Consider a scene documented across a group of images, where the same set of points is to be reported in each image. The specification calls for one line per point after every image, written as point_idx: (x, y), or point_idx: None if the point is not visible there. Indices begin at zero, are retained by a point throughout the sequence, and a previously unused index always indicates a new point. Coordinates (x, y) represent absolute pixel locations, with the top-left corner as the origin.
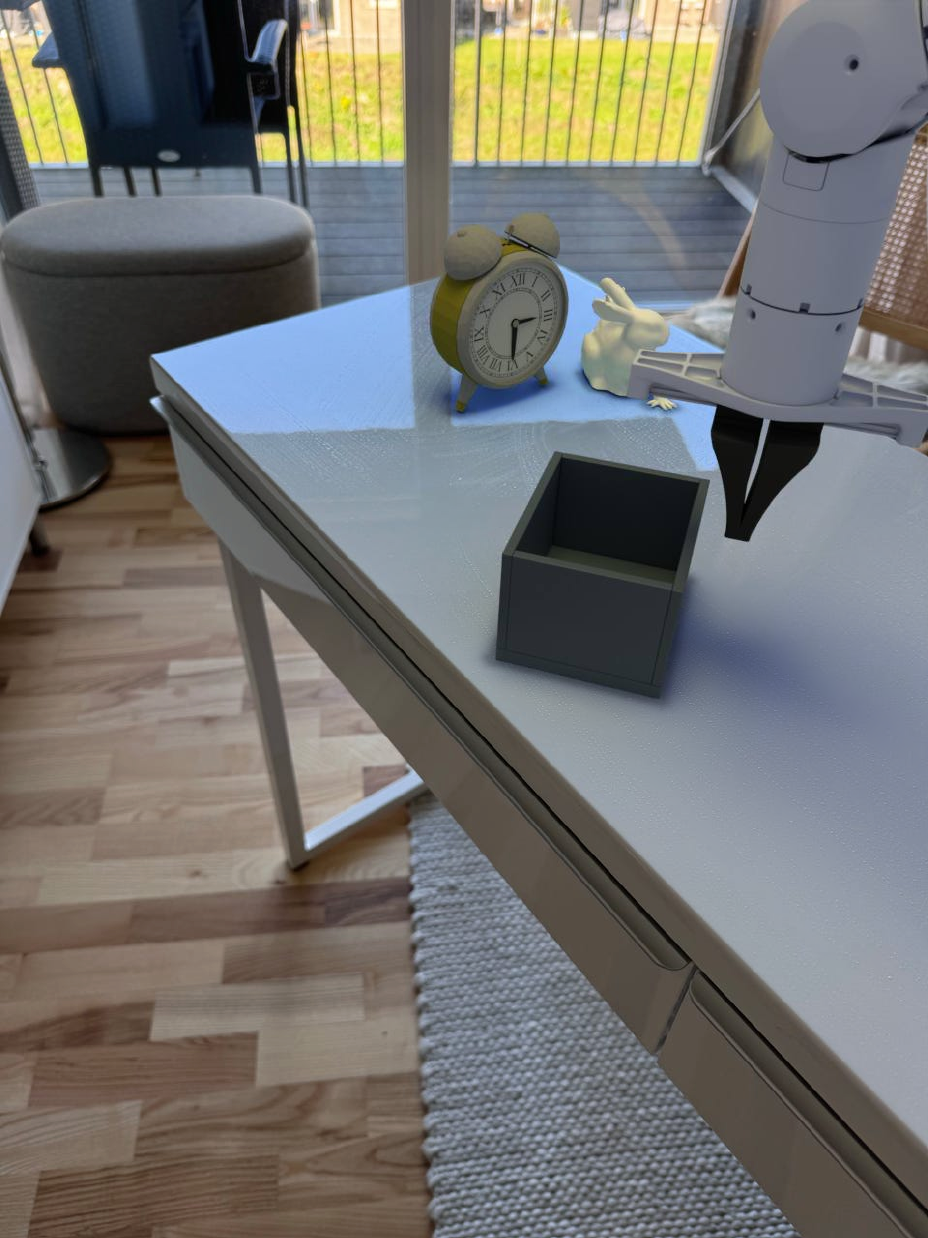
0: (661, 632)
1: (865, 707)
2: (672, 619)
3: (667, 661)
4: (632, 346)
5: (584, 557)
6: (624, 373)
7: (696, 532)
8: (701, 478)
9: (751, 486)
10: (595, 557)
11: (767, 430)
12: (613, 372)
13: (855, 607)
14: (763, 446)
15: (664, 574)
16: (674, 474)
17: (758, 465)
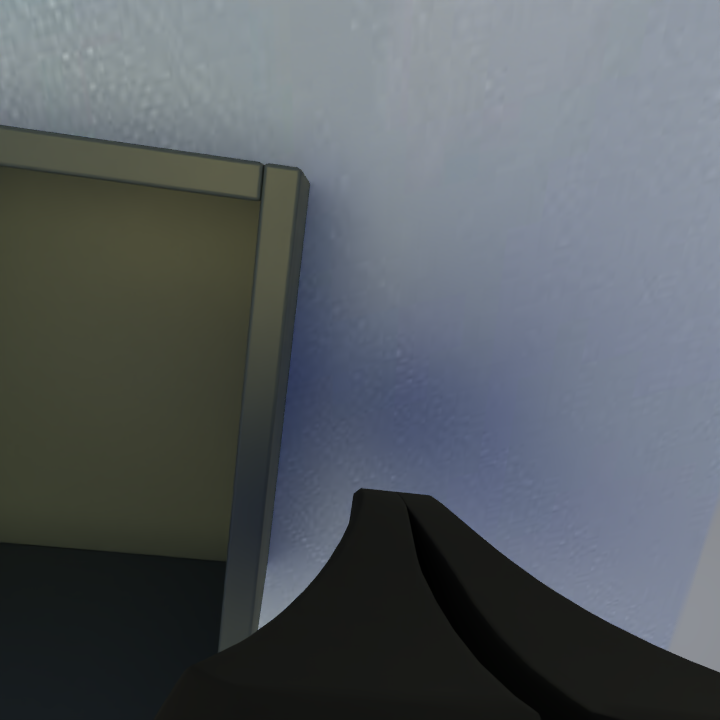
0: None
1: (632, 501)
2: None
3: (263, 584)
4: None
5: (34, 190)
6: None
7: (259, 523)
8: (267, 165)
9: (424, 563)
10: (63, 185)
11: (509, 678)
12: None
13: (689, 200)
14: (478, 656)
15: (247, 218)
16: (157, 163)
17: (452, 600)
